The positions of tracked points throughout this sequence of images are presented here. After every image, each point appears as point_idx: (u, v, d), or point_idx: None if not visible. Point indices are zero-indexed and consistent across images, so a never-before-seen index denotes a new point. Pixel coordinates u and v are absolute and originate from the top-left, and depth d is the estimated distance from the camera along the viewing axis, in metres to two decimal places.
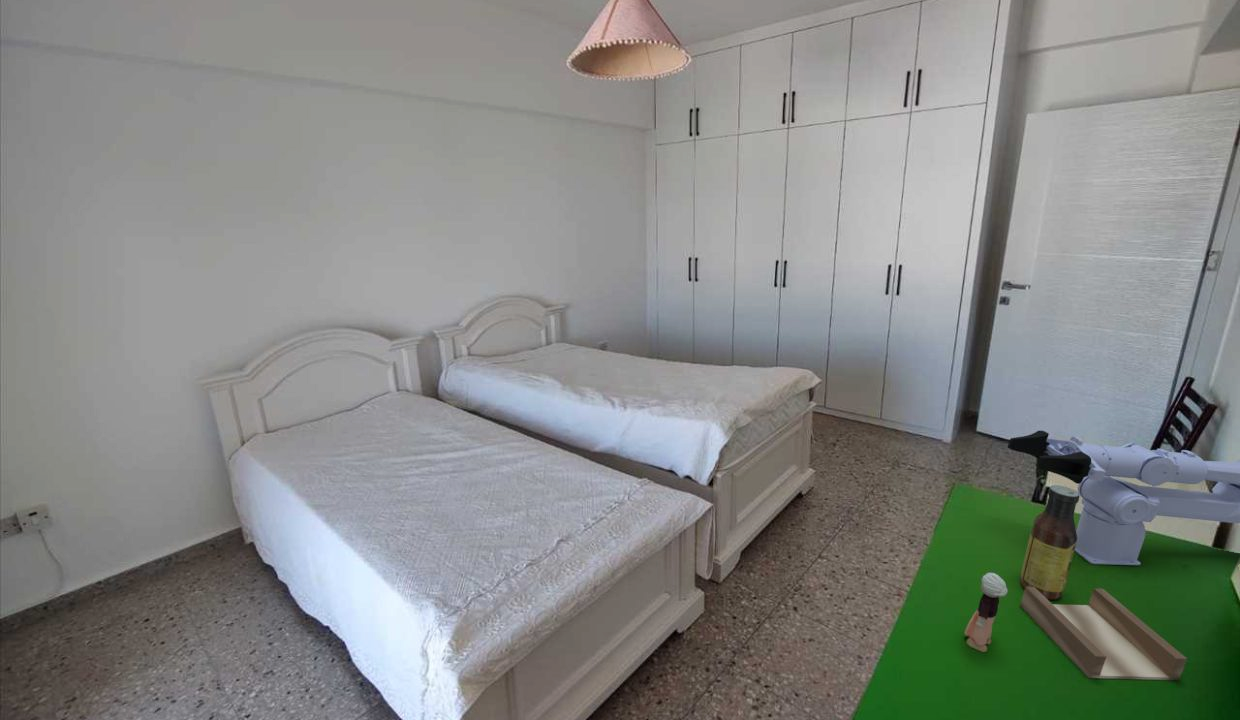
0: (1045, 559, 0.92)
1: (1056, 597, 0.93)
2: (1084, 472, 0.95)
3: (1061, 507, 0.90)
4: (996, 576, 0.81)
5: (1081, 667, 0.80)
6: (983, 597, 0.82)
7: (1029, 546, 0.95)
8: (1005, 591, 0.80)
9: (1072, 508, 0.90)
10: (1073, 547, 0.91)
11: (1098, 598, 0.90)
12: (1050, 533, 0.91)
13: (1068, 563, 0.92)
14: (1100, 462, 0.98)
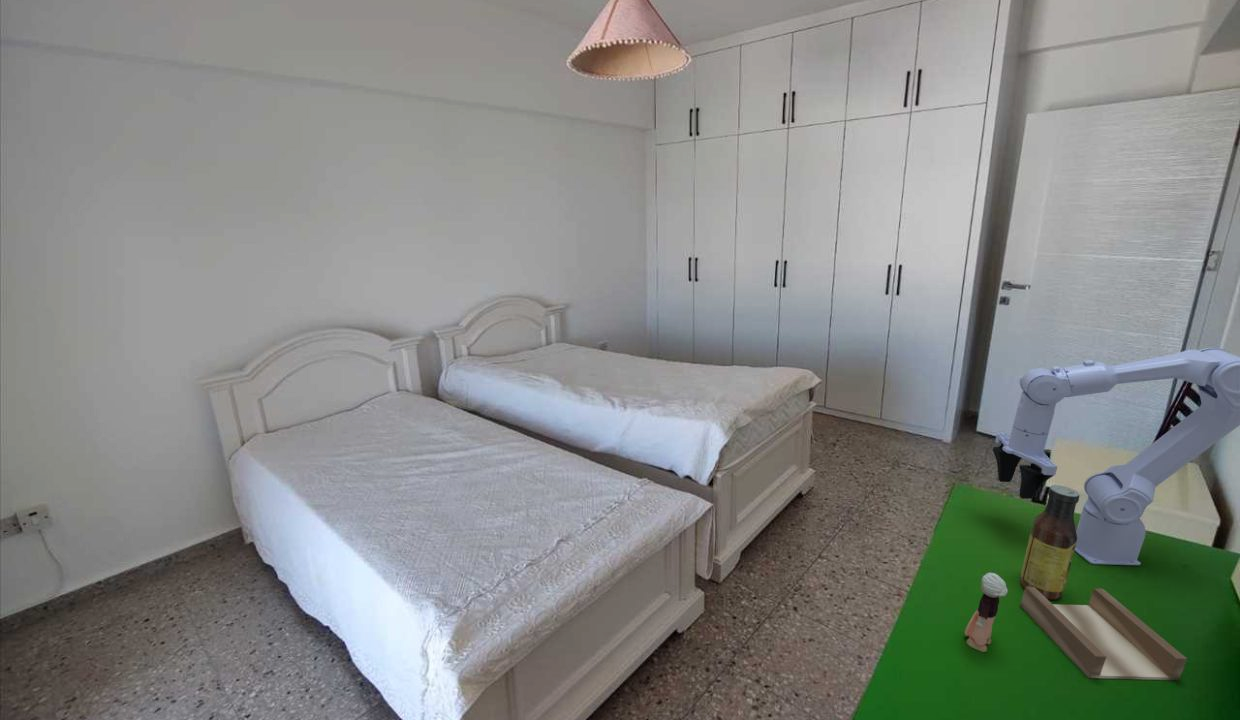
0: (1045, 559, 0.92)
1: (1056, 597, 0.93)
2: (1043, 473, 1.02)
3: (1061, 507, 0.90)
4: (996, 576, 0.81)
5: (1081, 667, 0.80)
6: (983, 597, 0.82)
7: (1029, 546, 0.95)
8: (1006, 591, 0.80)
9: (1072, 508, 0.90)
10: (1073, 547, 0.91)
11: (1098, 598, 0.90)
12: (1050, 533, 0.91)
13: (1068, 563, 0.92)
14: (1035, 441, 1.03)
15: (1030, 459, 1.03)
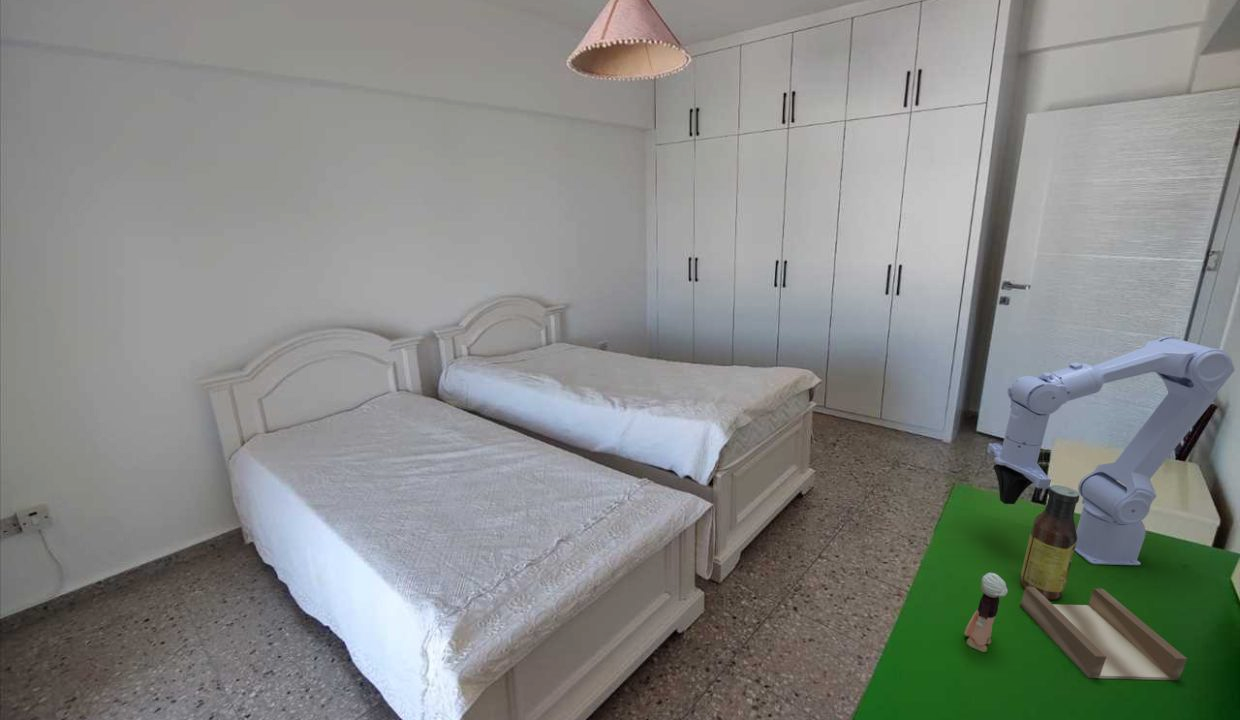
0: (1045, 559, 0.92)
1: (1056, 597, 0.93)
2: (1025, 478, 1.00)
3: (1061, 507, 0.90)
4: (996, 576, 0.81)
5: (1081, 667, 0.80)
6: (983, 597, 0.82)
7: (1029, 546, 0.95)
8: (1006, 591, 0.80)
9: (1072, 508, 0.90)
10: (1073, 547, 0.91)
11: (1098, 598, 0.90)
12: (1050, 533, 0.91)
13: (1068, 563, 0.92)
14: (1028, 453, 0.99)
15: (1023, 471, 0.98)
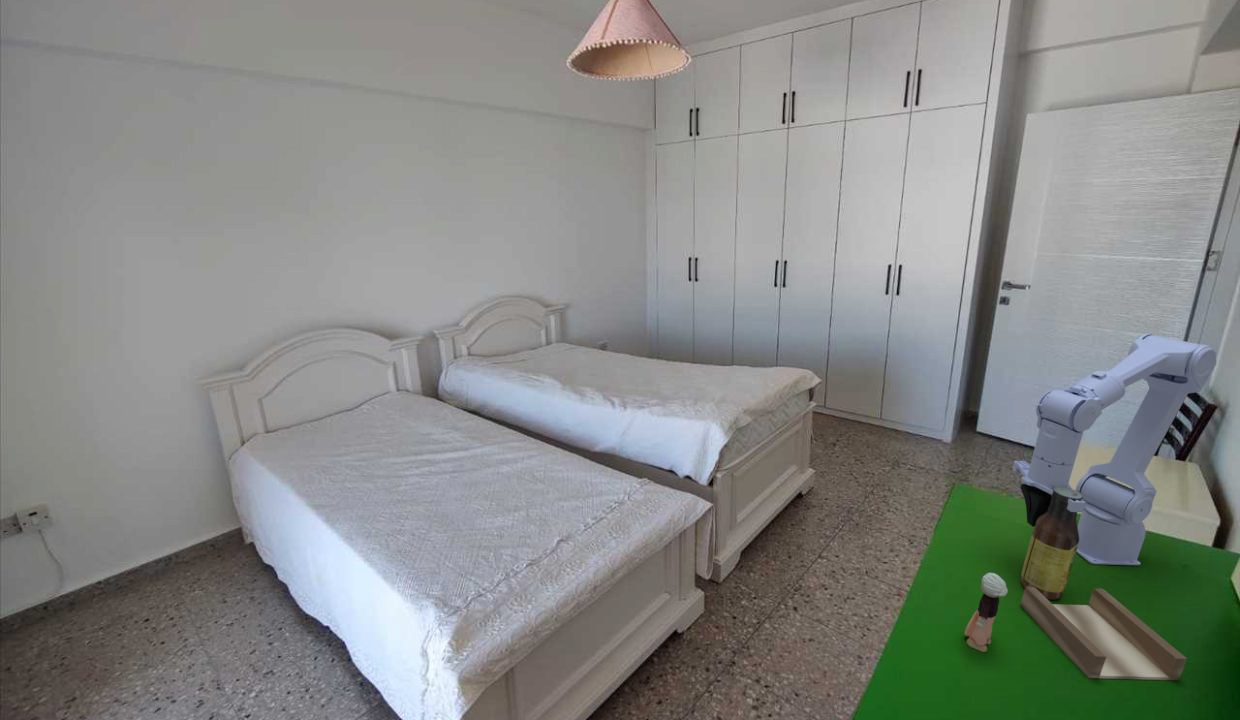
0: (1046, 560, 0.92)
1: (1056, 597, 0.93)
2: None
3: (1064, 508, 0.90)
4: (996, 576, 0.81)
5: (1081, 667, 0.80)
6: (983, 597, 0.82)
7: (1030, 546, 0.95)
8: (1006, 591, 0.80)
9: None
10: (1075, 548, 0.91)
11: (1098, 598, 0.90)
12: (1052, 534, 0.91)
13: (1069, 564, 0.91)
14: (1059, 473, 0.92)
15: None
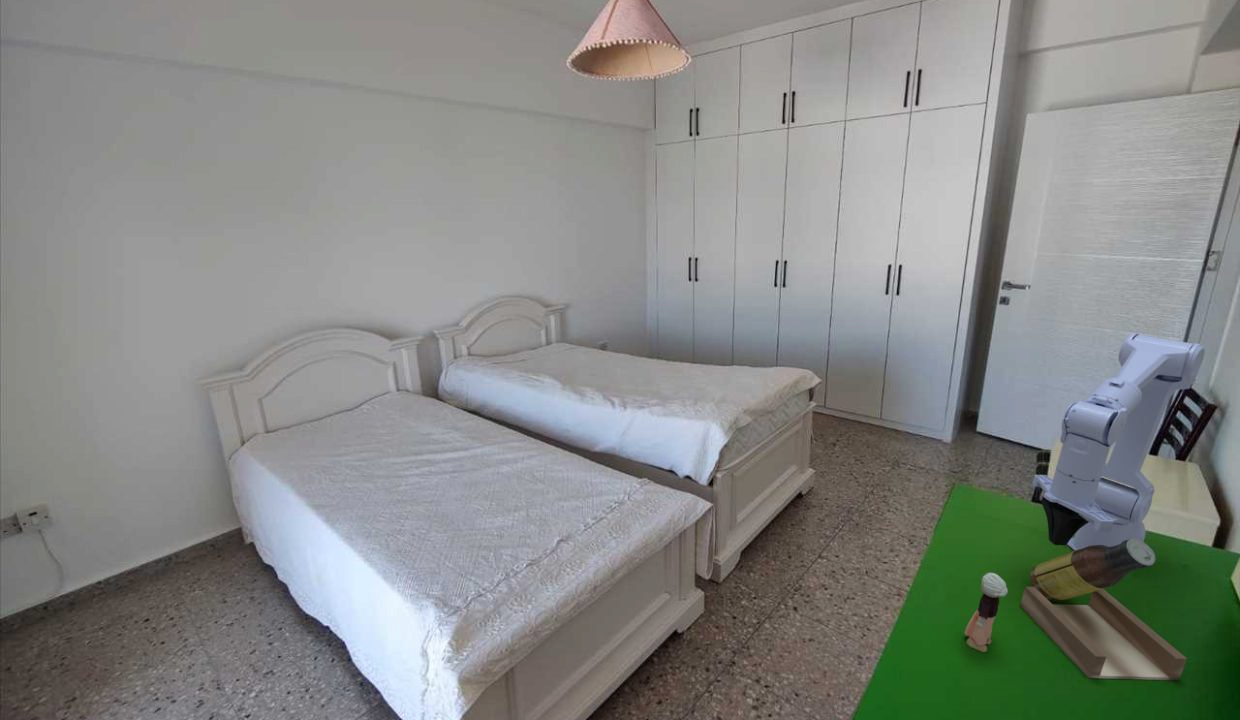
0: (1070, 584, 0.88)
1: None
2: (1080, 518, 0.88)
3: (1125, 565, 0.80)
4: (996, 576, 0.81)
5: (1081, 667, 0.80)
6: (983, 597, 0.82)
7: (1061, 564, 0.89)
8: (1006, 591, 0.80)
9: (1136, 568, 0.80)
10: (1109, 586, 0.85)
11: (1098, 598, 0.90)
12: (1094, 575, 0.84)
13: None
14: (1085, 489, 0.86)
15: (1079, 511, 0.86)
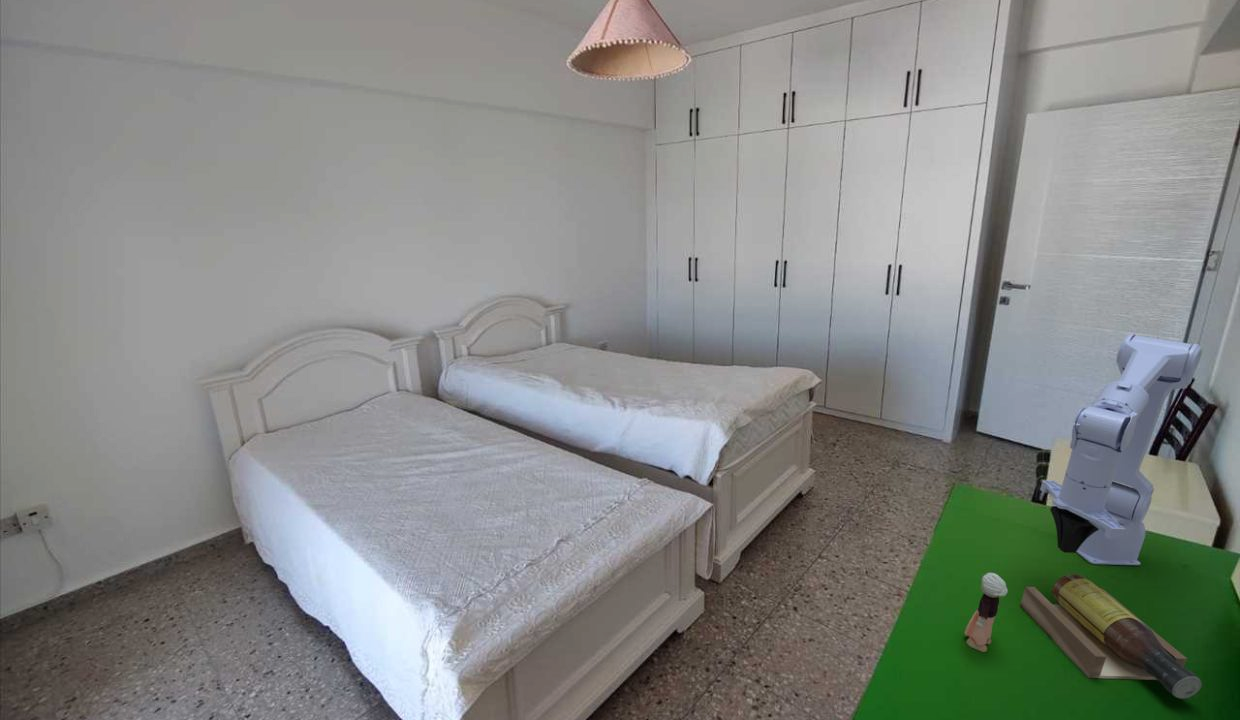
0: (1091, 632, 0.85)
1: None
2: (1090, 525, 0.86)
3: None
4: (996, 576, 0.81)
5: (1081, 667, 0.80)
6: (983, 597, 0.82)
7: (1092, 621, 0.84)
8: (1006, 591, 0.80)
9: None
10: None
11: None
12: (1121, 658, 0.80)
13: None
14: (1095, 496, 0.84)
15: (1089, 518, 0.84)
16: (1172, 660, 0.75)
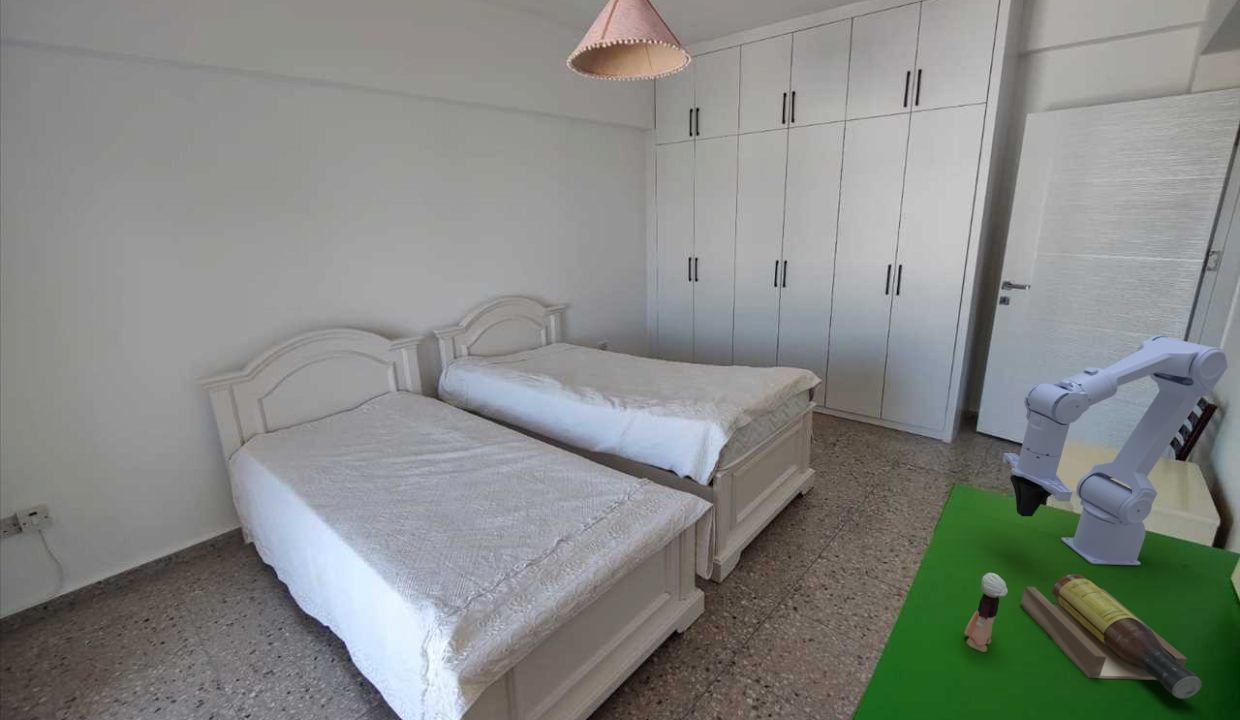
0: (1091, 632, 0.85)
1: None
2: (1044, 490, 0.97)
3: None
4: (996, 576, 0.81)
5: (1081, 667, 0.80)
6: (983, 597, 0.82)
7: (1092, 621, 0.84)
8: (1006, 591, 0.80)
9: None
10: None
11: None
12: (1121, 658, 0.80)
13: None
14: (1047, 464, 0.95)
15: (1042, 483, 0.95)
16: (1172, 660, 0.75)
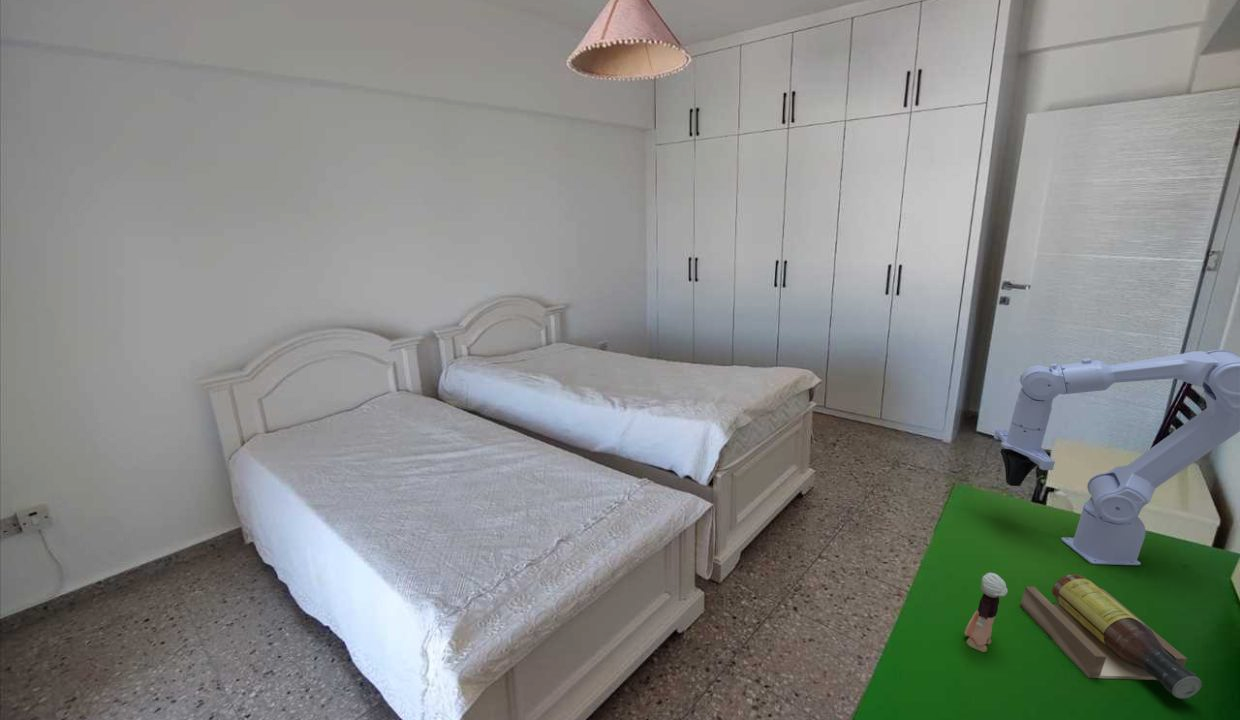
0: (1091, 632, 0.85)
1: None
2: (1030, 461, 1.07)
3: None
4: (996, 576, 0.81)
5: (1081, 667, 0.80)
6: (983, 597, 0.82)
7: (1092, 621, 0.84)
8: (1005, 591, 0.80)
9: None
10: None
11: None
12: (1121, 658, 0.80)
13: None
14: (1033, 437, 1.05)
15: (1028, 454, 1.05)
16: (1172, 660, 0.75)
